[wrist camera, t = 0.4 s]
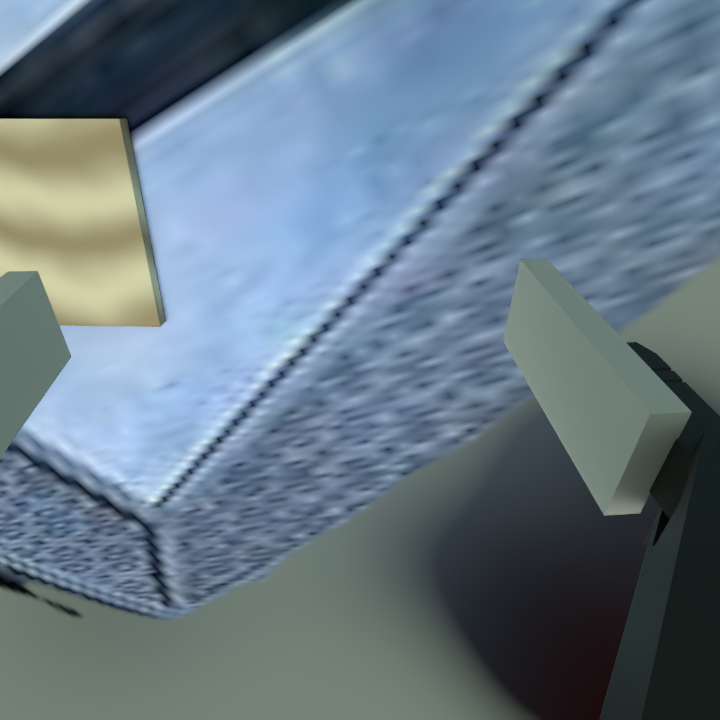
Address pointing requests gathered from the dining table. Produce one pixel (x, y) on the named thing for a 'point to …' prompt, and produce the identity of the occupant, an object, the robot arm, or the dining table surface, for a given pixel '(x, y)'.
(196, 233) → the dining table surface
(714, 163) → the dining table surface
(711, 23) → the dining table surface
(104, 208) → the board
